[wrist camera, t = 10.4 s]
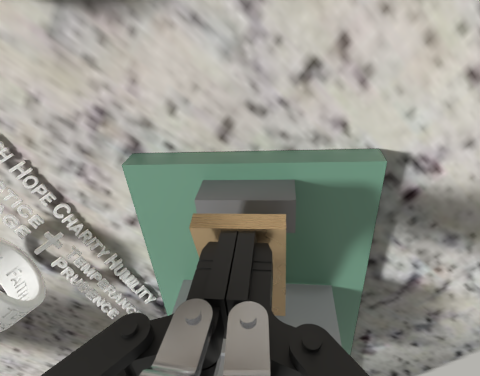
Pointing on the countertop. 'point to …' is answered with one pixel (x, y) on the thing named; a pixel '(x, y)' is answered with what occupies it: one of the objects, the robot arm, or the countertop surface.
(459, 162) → the countertop surface
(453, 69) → the countertop surface
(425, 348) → the countertop surface
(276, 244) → the wooden block
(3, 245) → the wide band ring
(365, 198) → the board
